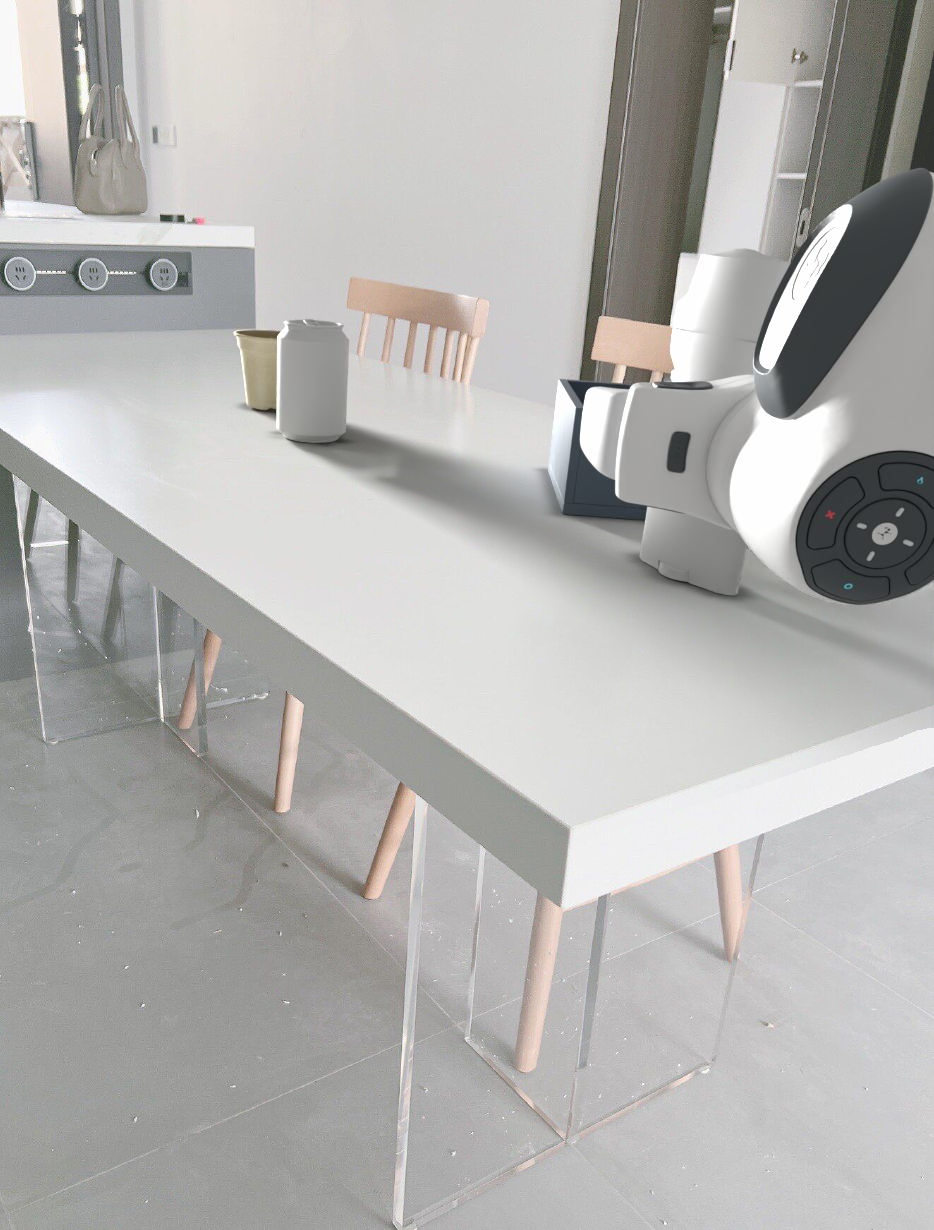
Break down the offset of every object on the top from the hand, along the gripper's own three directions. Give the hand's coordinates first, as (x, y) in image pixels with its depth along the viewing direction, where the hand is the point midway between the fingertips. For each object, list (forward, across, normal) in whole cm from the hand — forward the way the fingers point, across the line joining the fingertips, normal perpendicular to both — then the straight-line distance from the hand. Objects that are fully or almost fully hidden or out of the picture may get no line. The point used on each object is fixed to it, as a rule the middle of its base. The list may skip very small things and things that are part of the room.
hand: (724, 412), depth 71 cm
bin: (+26, +2, +12) cm, 29 cm away
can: (+43, +33, +12) cm, 56 cm away
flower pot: (+60, +40, +12) cm, 73 cm away
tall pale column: (+2, 0, +12) cm, 12 cm away
